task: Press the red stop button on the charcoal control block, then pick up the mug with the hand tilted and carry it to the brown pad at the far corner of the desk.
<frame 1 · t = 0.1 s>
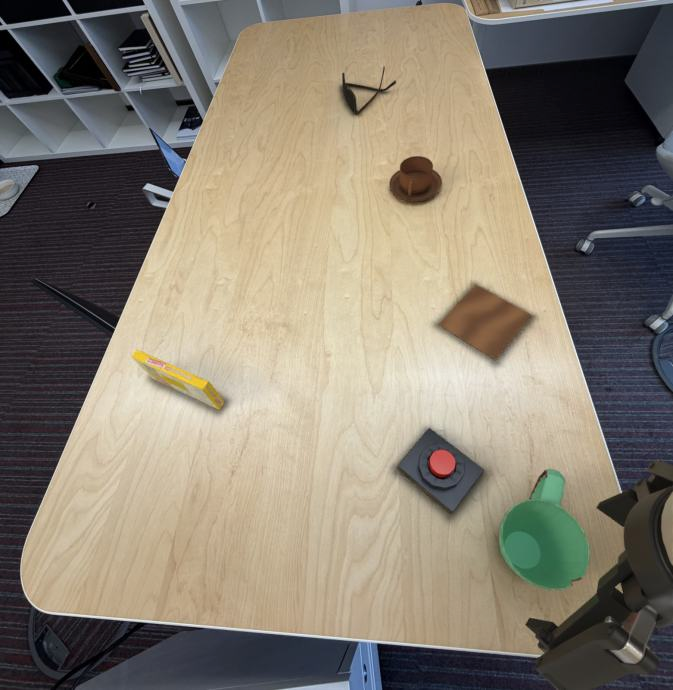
hand: (577, 570, 39), 19 cm above the table, tool pointing down, fingers open, 13 cm apart
mug: (525, 532, 58), on the table
sunglasses: (368, 96, 121), on the table
control block: (438, 471, 64), on the table
brown pad: (484, 321, 77), on the table
stop button: (442, 463, 60), point 5 cm above the table, slide at 0.2 cm
candy box: (188, 389, 77), on the table
cup and saucer: (414, 189, 98), on the table
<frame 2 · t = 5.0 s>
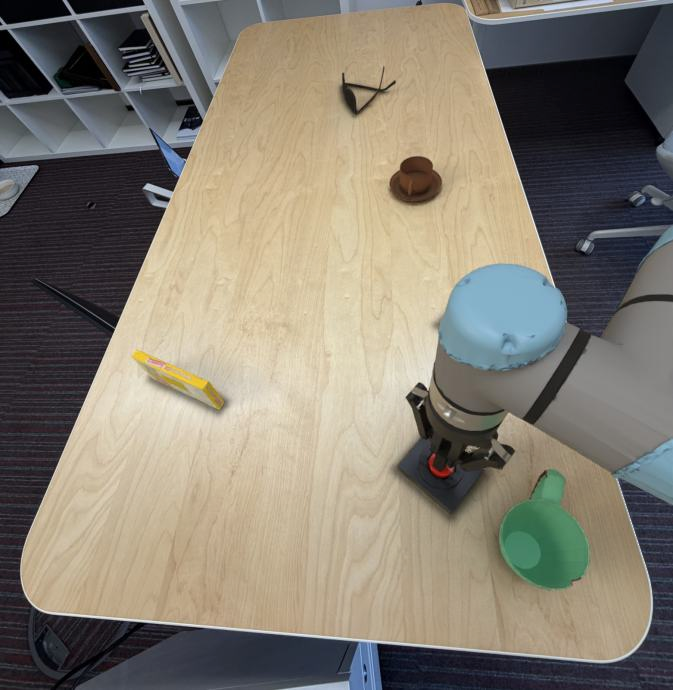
hand: (441, 462, 59), 5 cm above the table, tool pointing down, fingers closed
stop button: (441, 464, 60), point 4 cm above the table, slide at -0.4 cm, touching gripper
everything else where it was.
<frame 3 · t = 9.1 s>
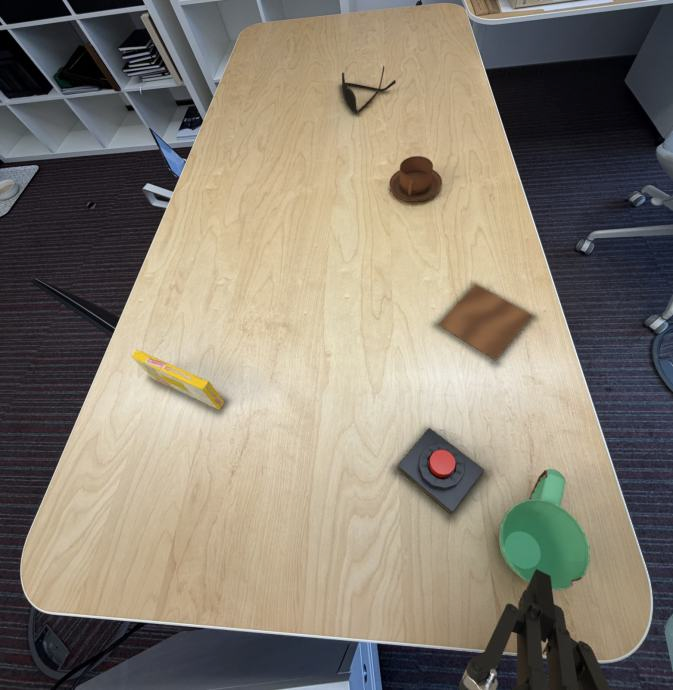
hand: (538, 582, 44), 13 cm above the table, tool tilted 40°, fingers closed
stop button: (442, 463, 60), point 5 cm above the table, slide at 0.1 cm
everything else where it was.
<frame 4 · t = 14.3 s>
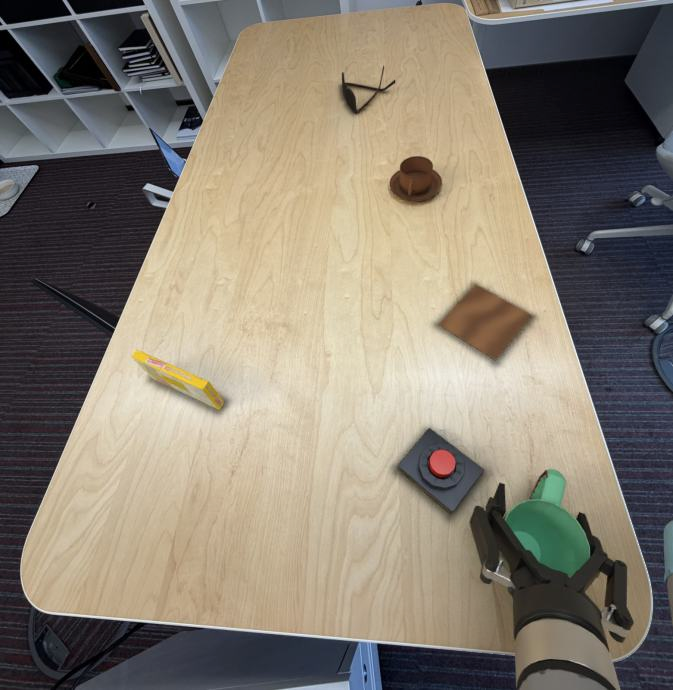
hand: (537, 505, 56), 4 cm above the table, tool tilted 45°, fingers closed on mug, 9 cm apart
mug: (525, 532, 58), on the table, touching gripper
everything else where it was.
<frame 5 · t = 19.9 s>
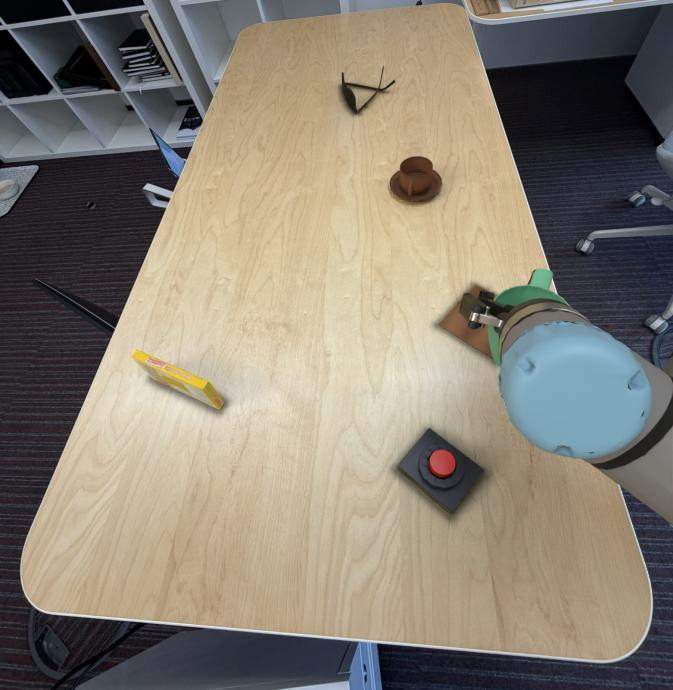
hand: (526, 310, 57), 17 cm above the table, tool tilted 45°, fingers closed on mug, 9 cm apart
mug: (514, 344, 59), point 13 cm above the table, touching gripper
everything else where it was.
when the fingers open (4 cm above the table, at t = 25.4 s): mug stays where it is, resting on brown pad.
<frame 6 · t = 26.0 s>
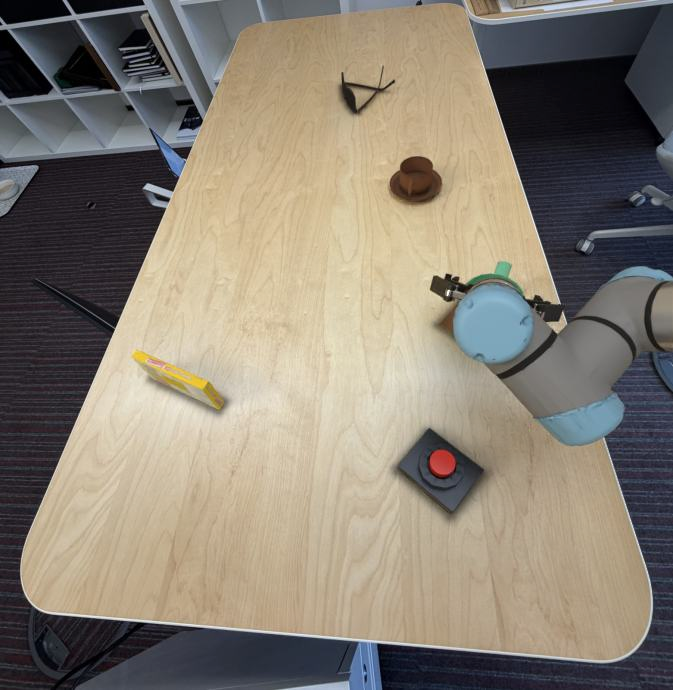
hand: (494, 293, 73), 6 cm above the table, tool tilted 45°, fingers open, 13 cm apart
mug: (484, 320, 76), resting on brown pad
everything else where it was.
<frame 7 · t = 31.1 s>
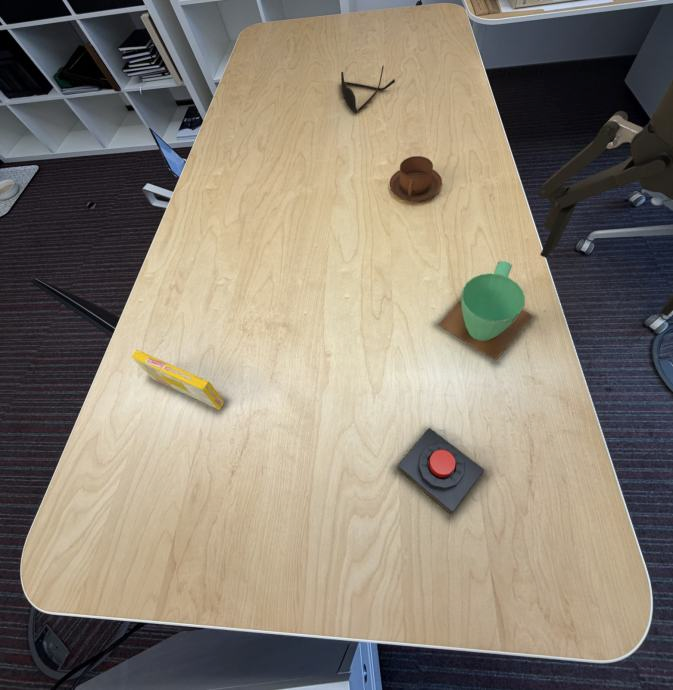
hand: (605, 276, 47), 27 cm above the table, tool pointing down, fingers open, 13 cm apart
nothing on the table moved.
at the end: stop button pushed in 1.0 cm at the most during the clip, back to where it started at the end; mug inside the target area on the brown pad (0.1 cm from its centre), point 0.3 cm above the brown pad's base; mug tilted 0° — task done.
